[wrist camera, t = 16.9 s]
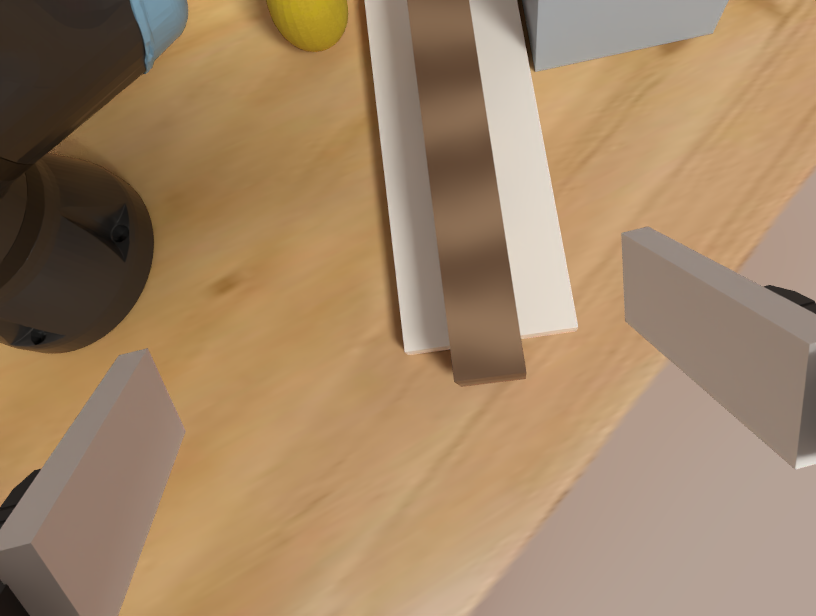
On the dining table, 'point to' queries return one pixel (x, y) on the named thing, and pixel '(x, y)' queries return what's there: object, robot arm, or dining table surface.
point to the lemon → (310, 22)
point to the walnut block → (465, 196)
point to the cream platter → (514, 165)
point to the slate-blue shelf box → (611, 26)
